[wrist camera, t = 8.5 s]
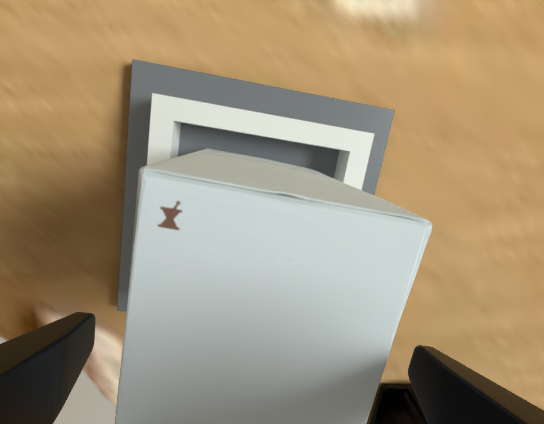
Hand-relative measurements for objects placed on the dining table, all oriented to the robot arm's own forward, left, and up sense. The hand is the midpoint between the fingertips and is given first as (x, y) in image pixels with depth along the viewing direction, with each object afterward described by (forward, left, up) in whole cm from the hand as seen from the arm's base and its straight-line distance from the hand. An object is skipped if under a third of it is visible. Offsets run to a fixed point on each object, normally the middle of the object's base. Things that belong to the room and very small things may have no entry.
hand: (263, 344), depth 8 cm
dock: (+1, 0, -13) cm, 13 cm away
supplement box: (+1, 0, -12) cm, 12 cm away
